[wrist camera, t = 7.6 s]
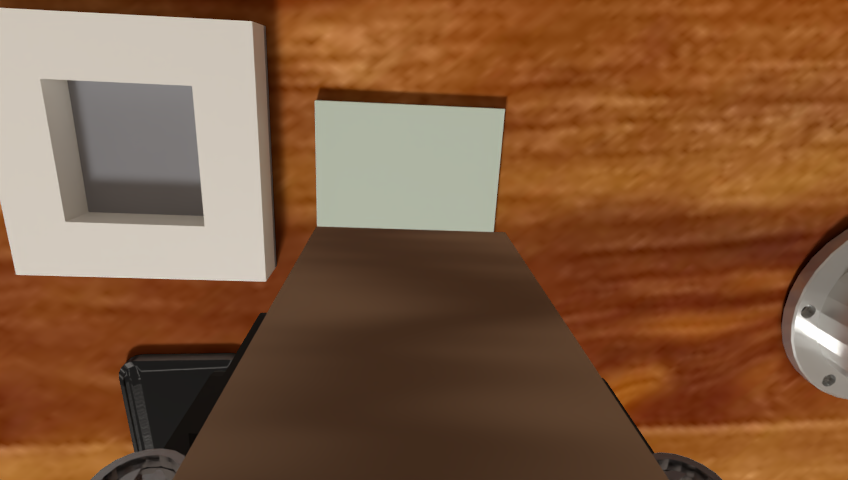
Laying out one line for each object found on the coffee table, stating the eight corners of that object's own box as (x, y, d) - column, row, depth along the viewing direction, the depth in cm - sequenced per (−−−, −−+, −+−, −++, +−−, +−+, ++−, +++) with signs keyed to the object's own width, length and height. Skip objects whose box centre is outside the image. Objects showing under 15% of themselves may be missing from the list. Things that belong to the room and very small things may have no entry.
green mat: (502, 108, 27) (504, 109, 27) (487, 279, 30) (488, 283, 30) (316, 99, 27) (314, 100, 26) (319, 274, 30) (318, 278, 29)
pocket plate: (265, 26, 26) (252, 21, 23) (276, 265, 30) (265, 281, 27) (-2, 12, 25) (-42, 5, 23) (46, 259, 29) (16, 274, 27)
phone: (246, 359, 31) (268, 548, 35) (252, 349, 32) (272, 534, 36) (113, 361, 30) (153, 552, 35) (123, 351, 31) (160, 537, 36)
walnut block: (504, 232, 14) (748, 600, 4) (489, 392, 15) (638, 933, 6) (316, 226, 13) (101, 604, 4) (319, 390, 15) (172, 954, 5)
